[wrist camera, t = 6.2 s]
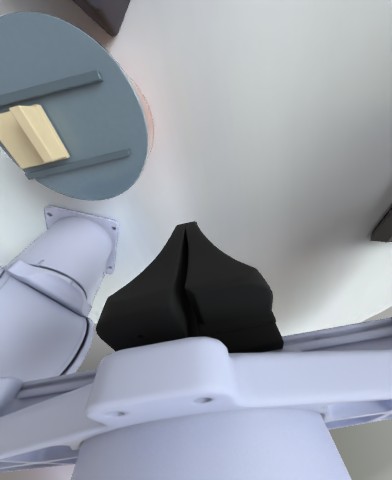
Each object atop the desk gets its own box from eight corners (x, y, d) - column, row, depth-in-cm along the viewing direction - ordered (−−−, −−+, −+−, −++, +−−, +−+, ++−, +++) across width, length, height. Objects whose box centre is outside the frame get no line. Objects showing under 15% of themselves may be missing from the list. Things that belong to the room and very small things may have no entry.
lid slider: (40, 104, 10) (17, 102, 8) (70, 156, 12) (55, 162, 10) (-12, 117, 10) (-44, 117, 9) (25, 167, 12) (4, 175, 10)
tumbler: (134, 39, 13) (100, -23, 7) (169, 165, 19) (165, 188, 13) (20, 69, 14) (-97, 34, 8) (87, 184, 19) (46, 215, 13)
